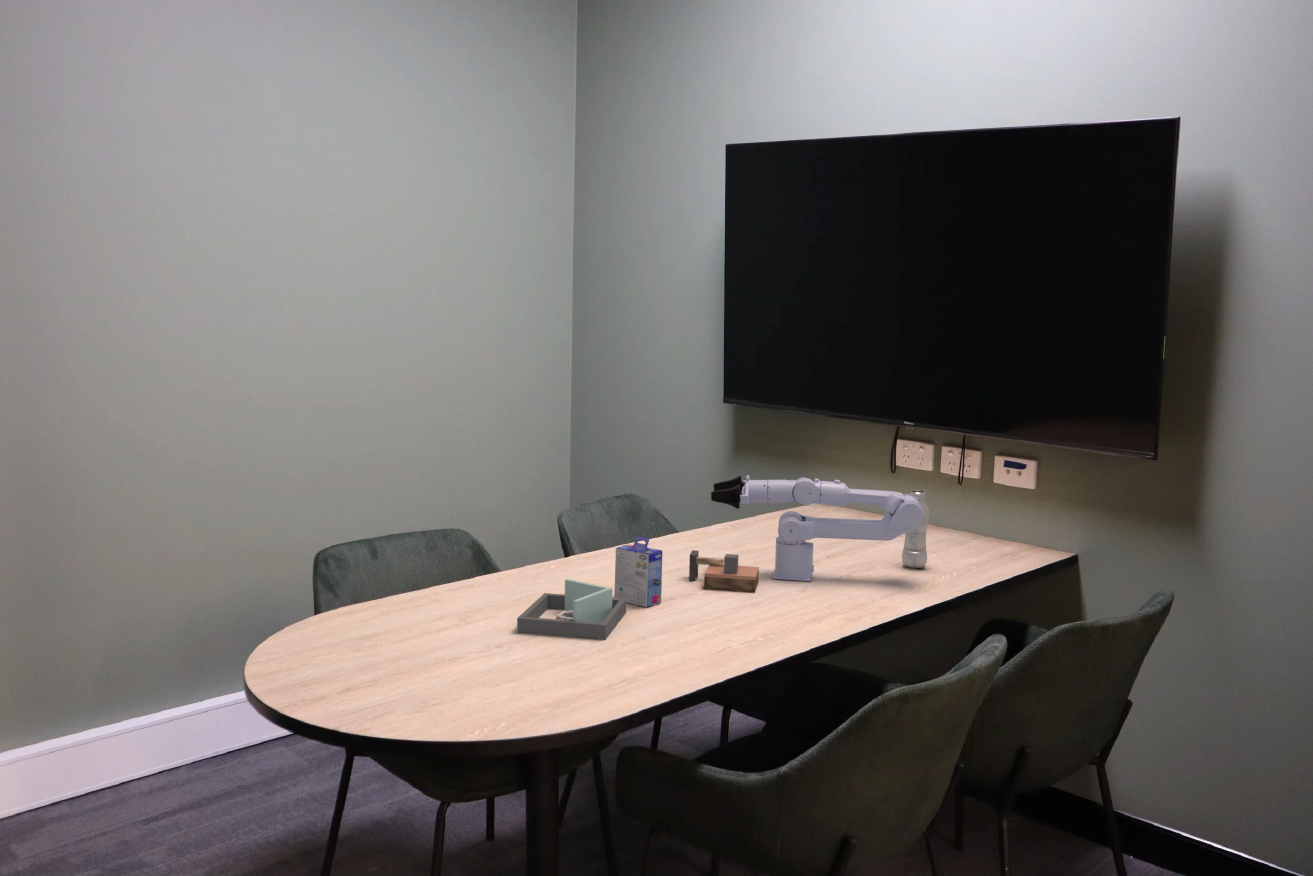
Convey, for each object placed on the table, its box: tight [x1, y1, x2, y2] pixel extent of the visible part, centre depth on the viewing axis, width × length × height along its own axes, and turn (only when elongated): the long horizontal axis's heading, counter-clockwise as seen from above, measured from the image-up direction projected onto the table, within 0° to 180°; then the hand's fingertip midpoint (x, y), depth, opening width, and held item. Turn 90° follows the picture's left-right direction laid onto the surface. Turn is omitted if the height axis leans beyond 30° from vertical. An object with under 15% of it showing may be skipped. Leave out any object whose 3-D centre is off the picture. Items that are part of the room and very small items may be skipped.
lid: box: [703, 553, 760, 580], centre depth 238 cm, size 12×9×6 cm
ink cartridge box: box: [613, 535, 663, 608], centre depth 224 cm, size 10×6×14 cm, turn 53°
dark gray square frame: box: [516, 592, 627, 641], centre depth 209 cm, size 18×18×3 cm
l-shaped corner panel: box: [555, 578, 613, 623], centre depth 209 cm, size 12×12×8 cm
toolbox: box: [688, 550, 760, 594], centre depth 240 cm, size 16×10×7 cm, turn 79°
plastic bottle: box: [901, 489, 930, 569], centre depth 258 cm, size 6×7×20 cm
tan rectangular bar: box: [696, 556, 724, 566], centre depth 243 cm, size 8×2×1 cm, turn 79°
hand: (712, 492), depth 248 cm, fingers open, 7 cm apart
